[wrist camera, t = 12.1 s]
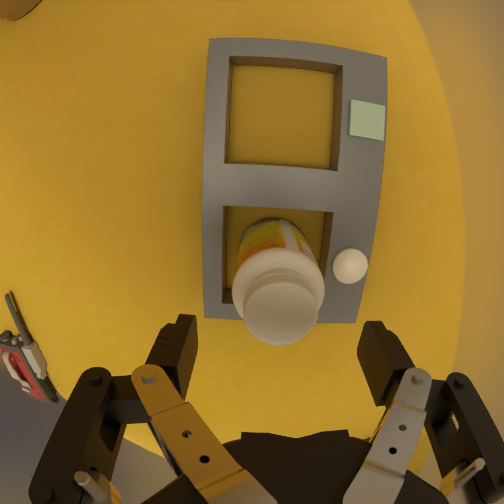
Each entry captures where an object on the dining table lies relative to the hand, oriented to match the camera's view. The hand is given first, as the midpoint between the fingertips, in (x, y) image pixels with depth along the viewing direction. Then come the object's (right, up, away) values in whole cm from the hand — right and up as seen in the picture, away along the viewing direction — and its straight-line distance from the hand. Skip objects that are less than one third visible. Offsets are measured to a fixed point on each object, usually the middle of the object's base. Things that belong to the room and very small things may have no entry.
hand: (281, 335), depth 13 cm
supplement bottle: (0, +4, +11) cm, 12 cm away
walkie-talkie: (-35, -10, +19) cm, 41 cm away
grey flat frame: (+2, +9, +9) cm, 13 cm away
